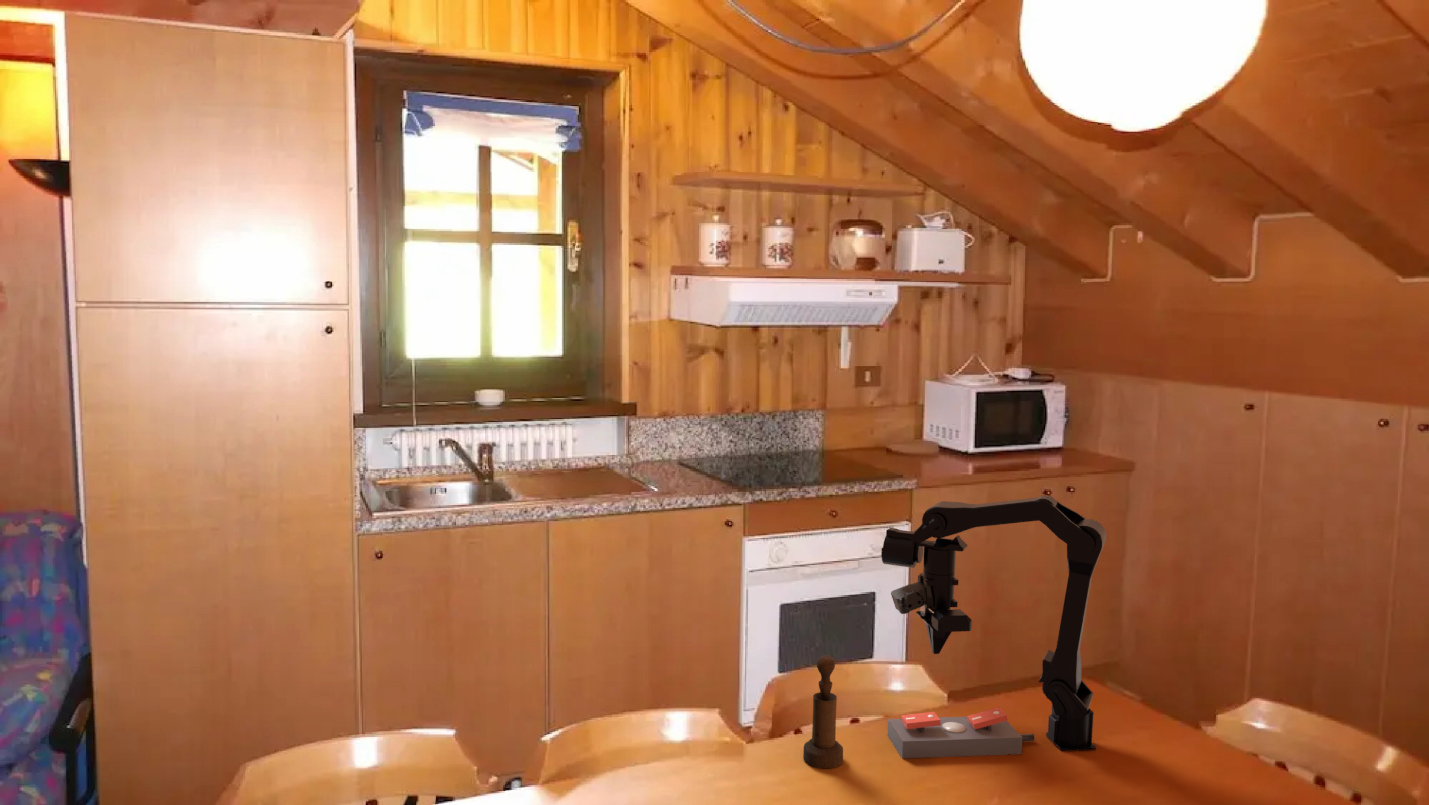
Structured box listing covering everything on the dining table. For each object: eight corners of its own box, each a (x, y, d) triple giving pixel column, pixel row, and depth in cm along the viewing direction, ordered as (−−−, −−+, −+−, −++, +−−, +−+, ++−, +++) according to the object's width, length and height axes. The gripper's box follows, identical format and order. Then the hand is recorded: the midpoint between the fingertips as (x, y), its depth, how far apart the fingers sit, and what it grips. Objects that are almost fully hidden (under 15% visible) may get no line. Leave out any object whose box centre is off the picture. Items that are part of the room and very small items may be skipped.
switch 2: (1000, 712, 180) (998, 706, 179) (1007, 720, 176) (1006, 714, 176) (967, 721, 179) (966, 715, 179) (974, 729, 176) (973, 723, 176)
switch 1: (934, 717, 178) (934, 711, 178) (940, 725, 175) (940, 719, 175) (901, 720, 178) (900, 715, 178) (906, 729, 174) (906, 723, 174)
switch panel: (1022, 730, 183) (1023, 711, 183) (1043, 753, 175) (1044, 733, 174) (887, 735, 181) (888, 715, 180) (902, 758, 172) (902, 738, 171)
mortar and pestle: (842, 752, 174) (845, 650, 172) (843, 770, 167) (846, 664, 165) (803, 750, 174) (806, 648, 172) (802, 767, 168) (805, 662, 166)
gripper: (881, 558, 195) (878, 637, 197) (913, 586, 176) (909, 673, 178) (937, 557, 196) (934, 636, 198) (974, 585, 178) (970, 671, 180)
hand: (935, 653), depth 188 cm, fingers closed
